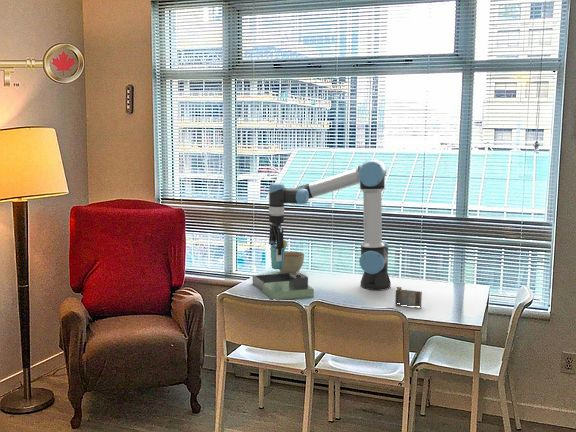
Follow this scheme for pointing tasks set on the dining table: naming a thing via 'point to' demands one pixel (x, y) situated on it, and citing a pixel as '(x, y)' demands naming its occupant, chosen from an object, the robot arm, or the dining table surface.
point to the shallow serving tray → (284, 285)
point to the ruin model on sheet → (408, 297)
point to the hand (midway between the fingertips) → (276, 259)
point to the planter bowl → (292, 262)
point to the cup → (273, 256)
